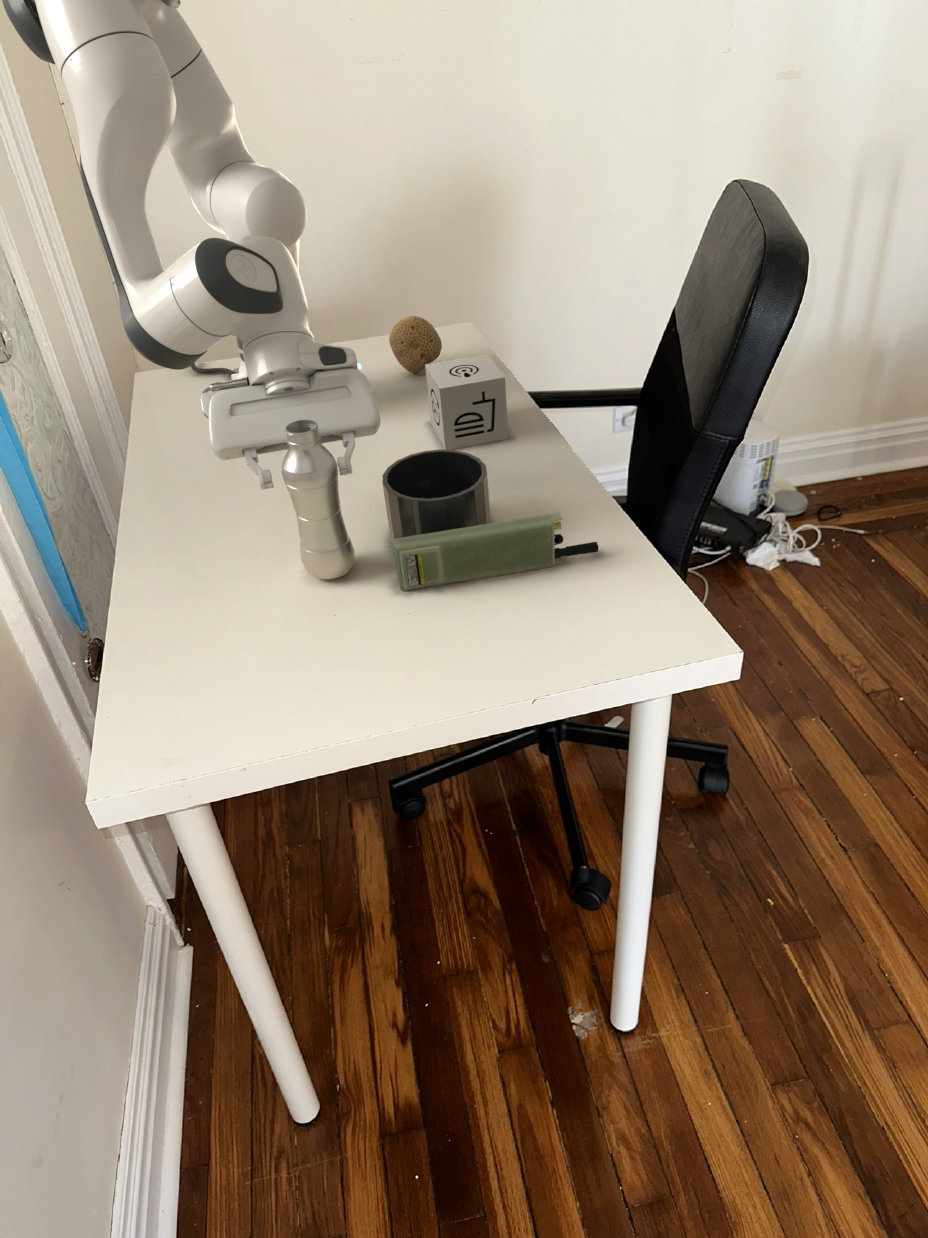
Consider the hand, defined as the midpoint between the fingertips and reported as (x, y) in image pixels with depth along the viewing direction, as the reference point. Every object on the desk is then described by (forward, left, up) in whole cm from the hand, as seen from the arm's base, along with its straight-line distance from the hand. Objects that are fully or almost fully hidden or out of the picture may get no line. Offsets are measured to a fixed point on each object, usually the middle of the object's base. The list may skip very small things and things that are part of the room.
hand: (307, 480), depth 109 cm
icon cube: (-27, +30, -13) cm, 43 cm away
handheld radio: (+11, +19, -13) cm, 26 cm away
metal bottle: (+1, 0, -13) cm, 13 cm away
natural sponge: (-54, +31, -13) cm, 64 cm away
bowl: (-1, +16, -13) cm, 20 cm away
